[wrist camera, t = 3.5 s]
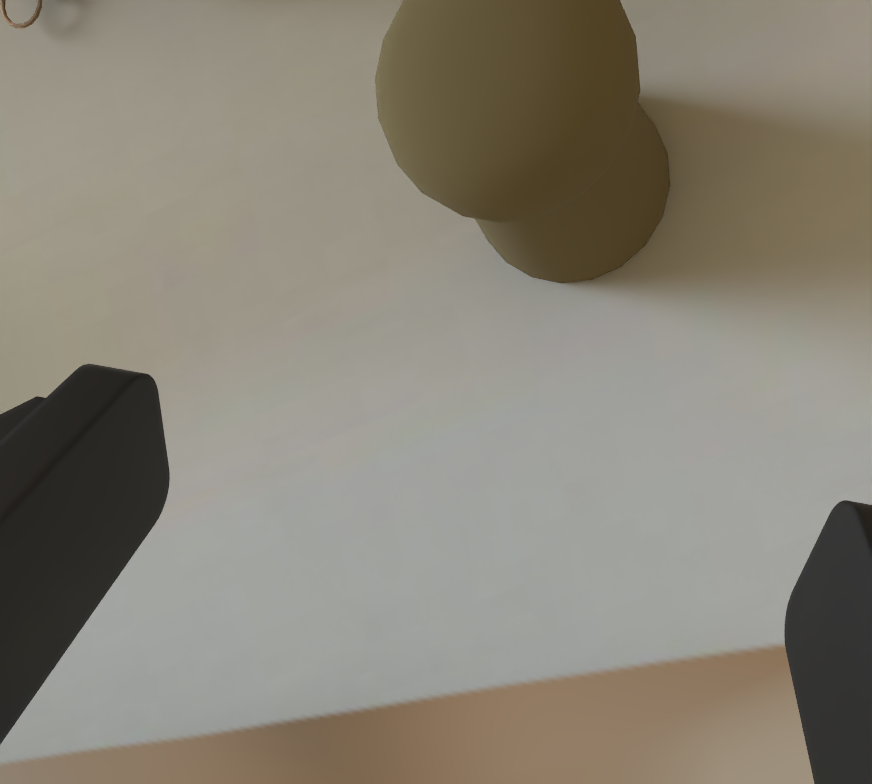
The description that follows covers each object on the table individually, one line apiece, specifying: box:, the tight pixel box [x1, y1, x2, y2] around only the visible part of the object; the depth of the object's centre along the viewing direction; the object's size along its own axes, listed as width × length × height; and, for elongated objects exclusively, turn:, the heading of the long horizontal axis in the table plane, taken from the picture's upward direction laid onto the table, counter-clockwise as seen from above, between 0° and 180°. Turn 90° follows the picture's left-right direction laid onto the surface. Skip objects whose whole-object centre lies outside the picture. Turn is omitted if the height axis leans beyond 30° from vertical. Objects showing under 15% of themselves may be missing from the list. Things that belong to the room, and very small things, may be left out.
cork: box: [375, 0, 670, 283], centre depth 19 cm, size 6×6×11 cm
